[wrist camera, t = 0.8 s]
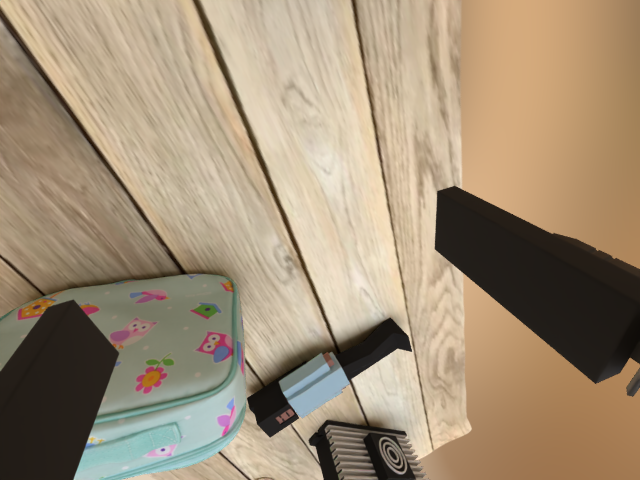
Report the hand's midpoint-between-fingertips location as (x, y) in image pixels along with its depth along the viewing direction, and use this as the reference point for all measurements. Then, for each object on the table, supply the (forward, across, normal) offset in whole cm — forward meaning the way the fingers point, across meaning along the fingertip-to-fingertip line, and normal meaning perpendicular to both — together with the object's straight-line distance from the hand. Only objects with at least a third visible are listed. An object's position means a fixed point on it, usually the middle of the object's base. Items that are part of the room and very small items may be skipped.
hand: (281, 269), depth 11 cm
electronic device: (+27, +8, -76) cm, 81 cm away
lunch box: (+28, -20, -18) cm, 38 cm away
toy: (+27, +3, -43) cm, 51 cm away
